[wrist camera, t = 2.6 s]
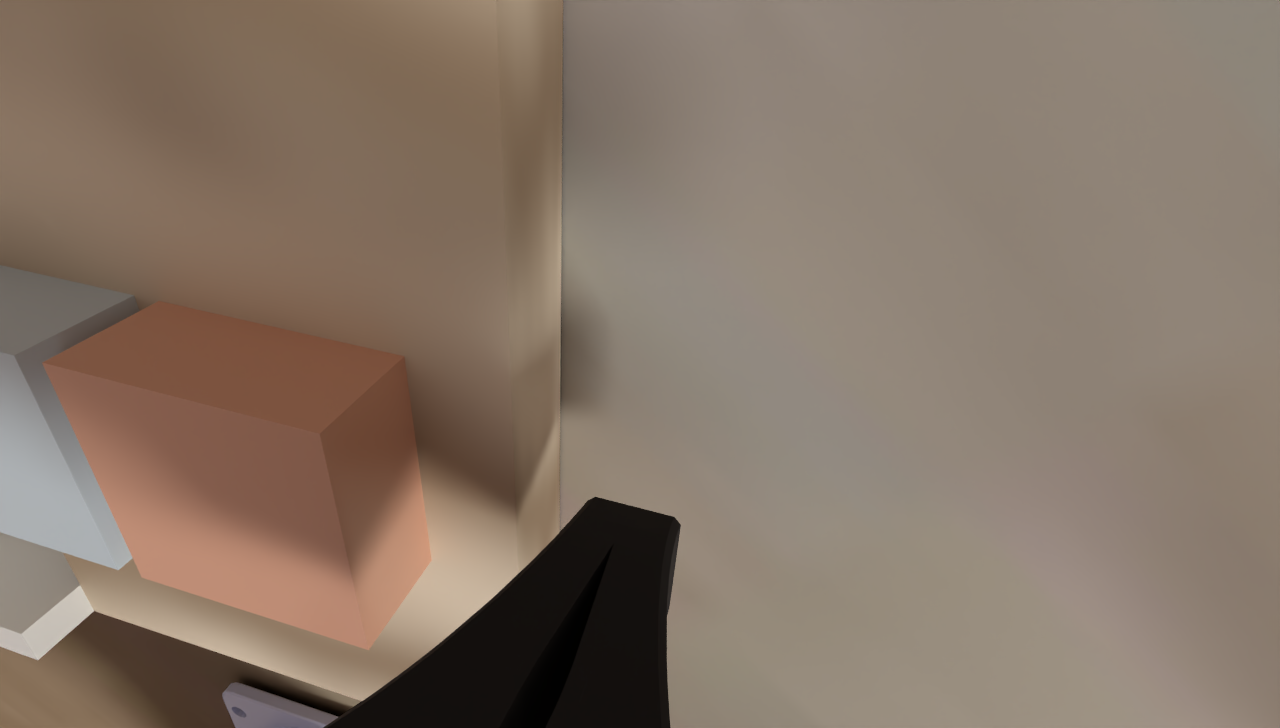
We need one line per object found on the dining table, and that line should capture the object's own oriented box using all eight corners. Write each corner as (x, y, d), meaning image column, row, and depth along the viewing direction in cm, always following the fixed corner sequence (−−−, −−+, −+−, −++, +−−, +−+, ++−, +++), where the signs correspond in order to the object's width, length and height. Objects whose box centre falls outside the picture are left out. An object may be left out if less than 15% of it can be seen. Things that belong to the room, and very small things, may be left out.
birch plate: (558, 678, 18) (525, 755, 16) (158, 554, 20) (93, 611, 18) (563, -81, 9) (493, -81, 7) (-145, -143, 11) (-318, -153, 10)
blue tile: (206, 495, 14) (118, 570, 13) (27, 444, 15) (-76, 507, 13) (134, 295, 12) (13, 355, 10) (-74, 248, 13) (-214, 296, 11)
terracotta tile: (431, 560, 13) (368, 650, 12) (226, 501, 14) (141, 577, 13) (404, 356, 11) (319, 433, 9) (158, 301, 12) (42, 363, 10)
